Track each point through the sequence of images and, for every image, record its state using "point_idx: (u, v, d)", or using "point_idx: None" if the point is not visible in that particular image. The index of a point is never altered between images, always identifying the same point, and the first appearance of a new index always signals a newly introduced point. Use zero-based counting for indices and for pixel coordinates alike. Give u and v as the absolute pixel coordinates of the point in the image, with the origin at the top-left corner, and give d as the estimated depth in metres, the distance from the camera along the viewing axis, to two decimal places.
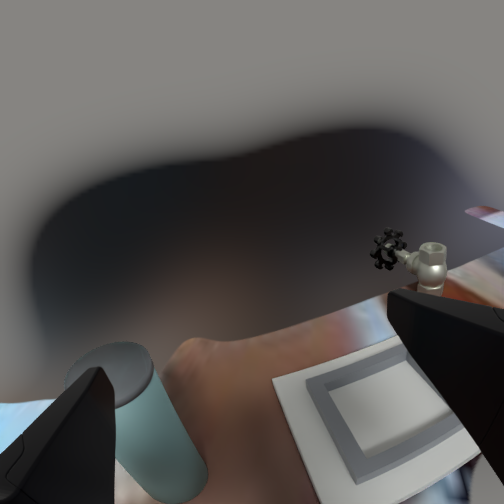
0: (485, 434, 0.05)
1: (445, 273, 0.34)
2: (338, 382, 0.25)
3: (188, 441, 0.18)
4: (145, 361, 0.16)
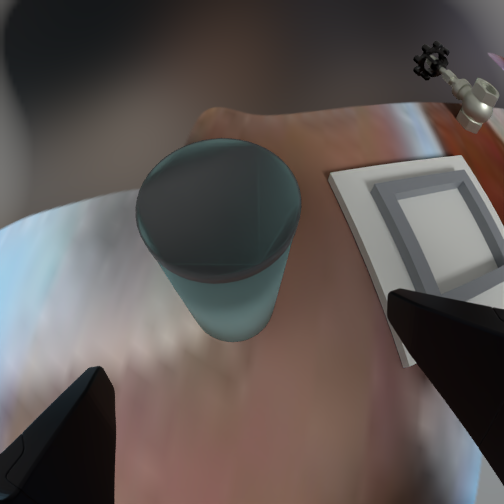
0: (485, 434, 0.05)
1: (490, 115, 0.27)
2: (404, 194, 0.23)
3: None
4: (286, 178, 0.11)
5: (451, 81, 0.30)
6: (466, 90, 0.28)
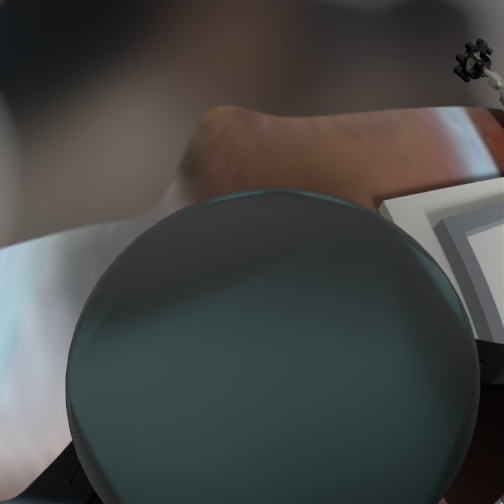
0: None
1: None
2: (473, 231, 0.16)
3: None
4: (450, 315, 0.04)
5: (498, 86, 0.23)
6: None
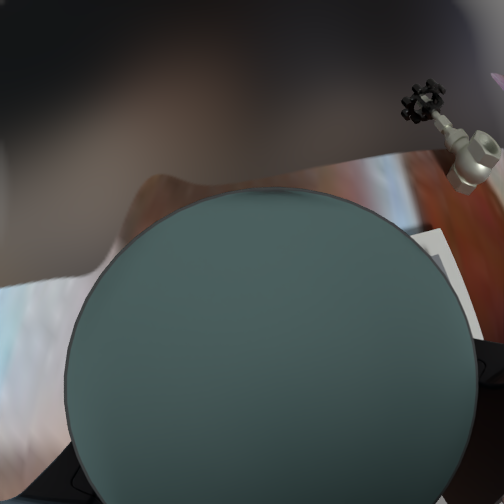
0: None
1: (488, 176, 0.25)
2: None
3: None
4: (449, 313, 0.04)
5: (445, 130, 0.28)
6: (461, 144, 0.26)
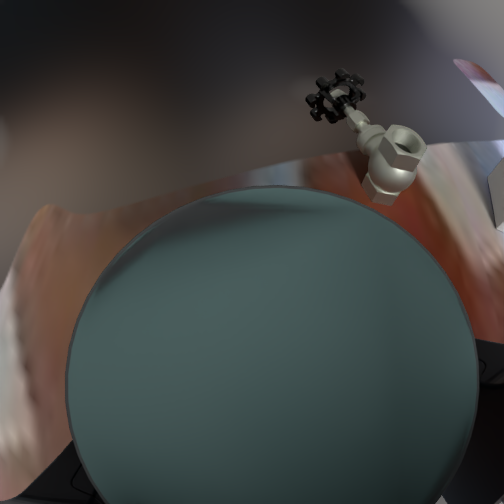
0: None
1: (411, 181, 0.23)
2: None
3: None
4: (449, 312, 0.04)
5: (358, 128, 0.26)
6: (375, 144, 0.24)
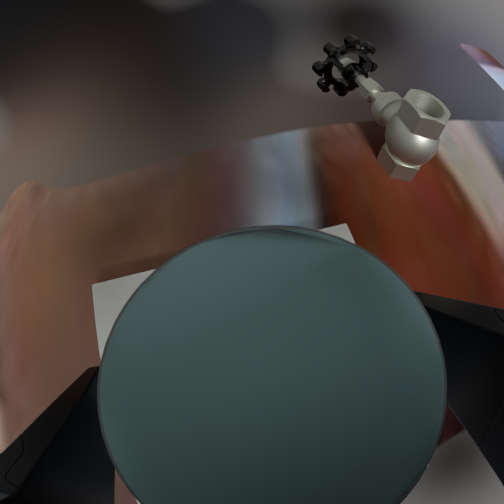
0: (485, 434, 0.05)
1: (434, 152, 0.19)
2: None
3: None
4: (421, 335, 0.05)
5: (371, 97, 0.22)
6: (392, 112, 0.20)
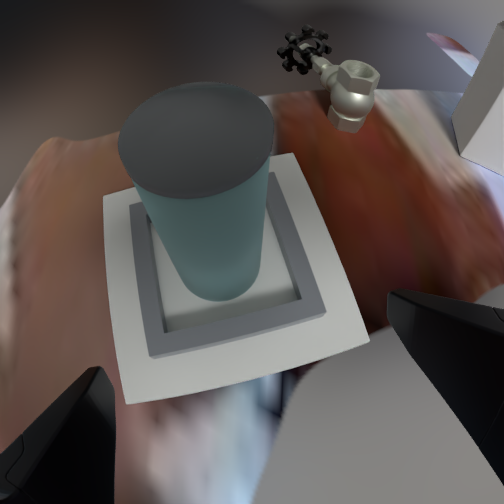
0: (485, 434, 0.05)
1: (370, 106, 0.25)
2: None
3: None
4: (260, 109, 0.11)
5: (322, 71, 0.28)
6: (335, 79, 0.26)
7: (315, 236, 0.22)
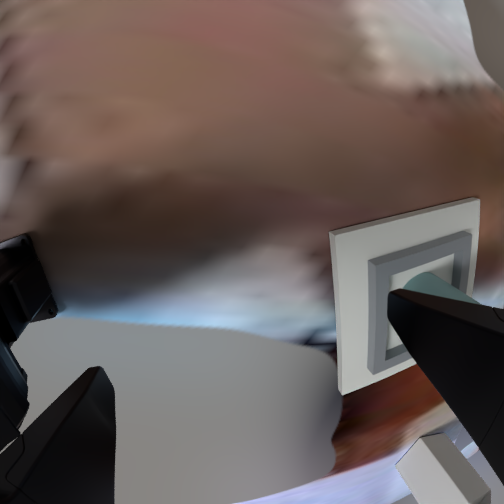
0: (485, 434, 0.05)
1: None
2: (458, 262, 0.24)
3: None
4: None
5: None
6: None
7: (412, 358, 0.28)
